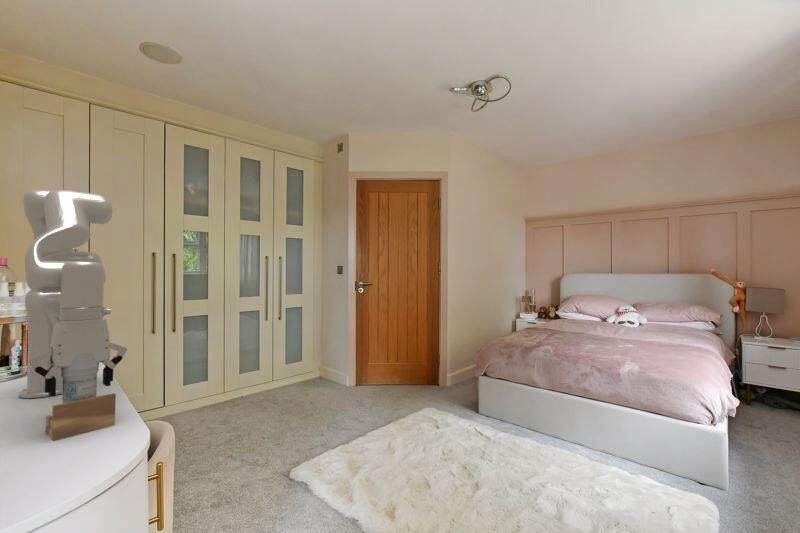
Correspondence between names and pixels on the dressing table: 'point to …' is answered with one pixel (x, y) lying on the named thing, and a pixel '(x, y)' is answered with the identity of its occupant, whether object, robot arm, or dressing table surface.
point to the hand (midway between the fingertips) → (80, 390)
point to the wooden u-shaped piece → (80, 416)
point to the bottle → (80, 378)
